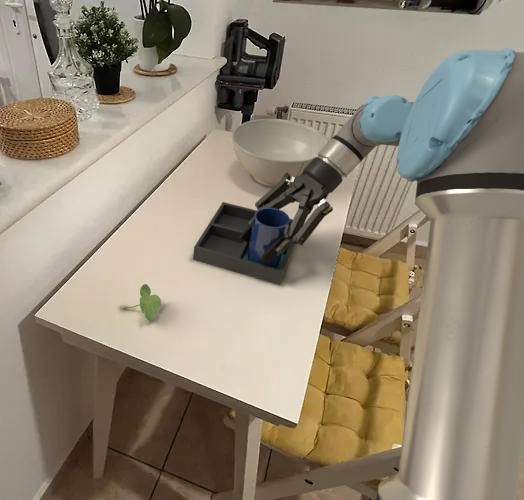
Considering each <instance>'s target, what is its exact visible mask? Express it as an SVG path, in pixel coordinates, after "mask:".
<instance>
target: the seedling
mask: <svg viewBox="0 0 524 500" xmlns="http://www.w3.org/2000/svg"><path fill="white" fill-rule="evenodd" d="M151 293H152V291H151V288H150V286H149V285H148V284H147V283H145V284H142V286H140V289H139V295H140V298H139V304H136V305H132V306H126V307H122V309H123V310H125V309H133V308H136V307H140V310H141V313H142V314H144V317H145V319H146V320H147V321H148V322H153V321H155V319H156V315H155V312H156V313H158V312H160V309H161V307H162V301H161V298H160V296H159V295H158V294H151Z"/></svg>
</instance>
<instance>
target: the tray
mask: <svg viewBox="0 0 524 500" xmlns="http://www.w3.org/2000/svg"><path fill="white" fill-rule="evenodd" d="M256 211H258V210H257V209H253V208H249V207H244V206H241V205H237V204H233V203H229V202H226V201H225V202H224V201H222V202H221V204H220V205H219V207H218V209H217V210H216V212H215V213H214V215H213V216H212V218H211V219H210V221H209V223H208V224H207V226H206V227H205V229H204V231H203V232H202V234H201V235H200V237H199V238H198V240H197V242H196V243H195V245H193V257H192V259H193V260H194V261H198V262H202V263H204V264H208V265H211V266H214V267H218V268H222V269H224V270H228V271H231V272H234V273H237V274H240V275H245V276H247V277H251V278H255V279H258V280H262V281H265V282H268V283H270V284H271V283H272V284H275V285H278V286H281V284H282V281H283V279H284V275H285V272H286V269H287V267H288V264H289V261H290V259H291V256H292V252H293V250H294V247H295V245H296V244H295V243H292V244H291V245H290V246H289V247H288V248H287V249H286V250H285V251H284V252H283V253H282V255H281V260H280V263H279V264H278V265H277V266H276V267H269V266H266V265H262V264H259V263H255V262H252V261H249V259H248V249H249V243H250V240H249V241H248V242H245V241H244V240H242V239H241V238H240V237H239V235H240V234H241V233H242V232H243V231H244V230H245V229H246V228H247V227H248V226H249V224H248V223H249V221H250V220H251V219H252V218H253V217H254V215H255V212H256ZM293 219H294V218H290V222H289V226H288V229H289V227H290V225H291V223H292V221H293ZM287 231H288V230H287Z"/></svg>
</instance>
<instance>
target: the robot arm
mask: <svg viewBox="0 0 524 500" xmlns="http://www.w3.org/2000/svg"><path fill="white" fill-rule="evenodd" d="M378 146H391V147H398V148H397V153H396V164H397V167H396V168H397V172H398V175H399V176H400V177H401V178H402V179H405V180H407V181H408V182H410V183H413V182H416V189H415V198H414V205H415V206H416V207H417V208H418V209H419V210H420V211H421V212H422V213H423V214H424V215H425V217H426V218H427V219H428V221H429V223H430V224H429V232H428V239H427V246H426V247H427V248H426V255H425V263H424V270H423V278H422V286H421V294H420V303H419V309H418V317H417V326H416V332H415V333H416V334H415V340H414V347H413V356H412V364H411V371H410V378H409V379H410V380H409V387H408V395H407V401H406V402H407V403H406V409H405V410H406V411H405V418H404V424H403V425H404V426H403V434H402V442H401V450H400V457H399V464H398V472H397V473H395V474H393V475H391V476H389V477H387V478H385V479H383V480H381V481H380V482H379V483H378V486H377V490H376V499H375V500H518V499H517V498H518V491H519V481H520V475H521V465H522V457H523V448H524V51H515V50H514V49H512V48H508V47H507V48H504V49H501V50H486V49H485V50H480V49H479V50H477V49H467V50H461V51H459V52H456V53H454V54H451V56H449V57H447V58H446V59H445V60H443V61H442V62H441V63H439V65H438V66H437V67H436V68H435V69H434V70H433V71H432V73H431V74H430V75H429V77H428V78H427V79H426V81H425V82H424V83H423V86H422V87H421V88H420V90H419V92H418V94H417V97H416V98H415V100H414V101H409V100H408V99H407V98H406V97H404V96H401V95H398V94H389V95H385V96H382V97H381V96H376V95H375V96H370V97H369V98H368V99H367V100H365V101H364V103H362V104H361V105H360V106H359V107H358V108H357V109H356V111H355V112H354V113H353V114H352V116H351V117H350V118H349V119H348V120H347V121H346V122H345V124H344V125H342V127H341V128H340V129H339V130H338V131H337V132H336V133H335V135H333V137H332V138H330V139H329V142H328V143H327V144H326V145H325V146H324V147H323V148H322V149H321V150H320V151H319V152H318V157H315V158H313V159H312V160H311V161H310V162H309V164H308V165H307V166H306V167H305V168H304V170H303V173H302V174H301V175H299V176H297V177H293V176H291V175H290V174H289V173H285V174H284V175H283V177H282V179H281V180H280V181H279V182H278V183H277V184H276V185H275V186H274V187H271V188H270V189H269V190H268V191H267V192H266V193H265V194H264V195H262V196H261V197H260V198H259V199H258V200H257V201H256V202H255V204H254V206H255V208H256V210H257V211H258V210H259V209H262V208H275V209H279V210H281V209H283V208H284V207H286V206H288V205H290V204H294V203H295V202H297V203H299V204H298V206H297V207H298V208H297V210H296V212H295V215H294V216H293V218H292V219H293V221H292V223H291V225H290V227H289V229H288V231H287V233H286V234H284V236H283V235H281V236H280V237H279V238H278V239H277V240H276V241H275V242H274V243H273V244H272V245H271V246H270V247H269V248H268V249H267V250H266V251H265V253H264V254H263V255H262V256H261V257H260V259H261V260H262V261H264V262H265V263H267V264H268V263H269V262H270V261H271V260H272V259H273V258H274V257H275V256H276V255H277V254H278V253H280V254H282V253H283V252H284V251H285V250H286V249H287V248H288V247H289V246H290V245H291V244H292V243H295V245H298V246H303V245H305V243H306V242H307V240H308V239H309V237H311V235H312V234H313V232H314V231H315V230H316V229H317V227H318V226H319V225H320V223H321V222H322V221H323V219H324V218H325V217H326V216H327V215H329V214H330V213H332V212H333V211H334V208H333V206H332V205H331V204H330V203H329V202H328V201H327V198H328V196H329V194H331V193H333V192H334V191H335V190H336V189H337V188H338V187H339V186H340V185H341V184H342V182H343V178H347V177H348V176H349V175H350V174H351V173H352V172H353V171H354V170H355V169H356V168H357V166H359V164H360V163H362V161H363V160H364V159H365V158H366V157H367V156H368V155H369V154H370V153H371V152H372V151H373V150H374V149H375V148H376V147H378ZM315 206H317V207H316V208H315V209H314V207H315ZM313 209H314V210H313ZM308 216H309V217H308ZM253 220H254V217H253V218H252V219H251V220H250V221H249V223H248V224H249V226H248V227H247V228H246V229H245V230H244V231H243V232H242V233H241V234H240V235H239V237H240V238H241V239H242V240H244V241H245V242H248V241H249V240H250V237H251V231H252V226H253Z"/></svg>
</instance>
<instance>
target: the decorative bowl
mask: <svg viewBox="0 0 524 500" xmlns="http://www.w3.org/2000/svg"><path fill="white" fill-rule="evenodd" d="M329 141H330V139H329V138H328V137H327V136H326V135H325V134H324V132H321V131H320V130H318V129H316V128H315V127H313V126H311V125H308V124H306V123H302V122H298V121H294V120H289V119H281V118H259V119H253V120H248V121H245V122H242V123H241V124H239V125H238V126H236V127H235V128H234V129H233V131H232V133H231V142H232V147H233V151H234V154H235V155H236V159H237V160H238V162H239V163H240V165H241V166H242V168H243V169H244V170H245V172H247V173H248V174H249V175H251V176H252V178H253V179H254V180H255V181H256V183H259V184H261V185H263V186H266V187H271V188H273V187H274V186H275V185H276V184H277V183H278V182H279V181H280V180H281V179H282V177H283V175H284V174H285V173H289V174H290V175H291V176H293V177H297V176H299V175H301V174H302V173H303V170H304V168H305V167H306V166H307V165H308V164H309V162H310V161H311V160H312V159H313V158H315V157H318V152H319V151H320V150H321V149H322V148H323V147H324V146H325V145H326V144H327V143H328V142H329Z"/></svg>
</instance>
